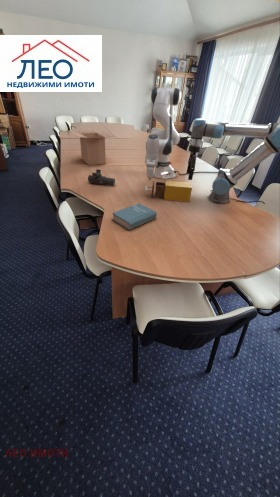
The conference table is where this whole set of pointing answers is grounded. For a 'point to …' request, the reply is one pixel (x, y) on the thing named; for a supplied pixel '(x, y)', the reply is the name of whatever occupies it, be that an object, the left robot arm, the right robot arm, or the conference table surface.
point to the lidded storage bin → (177, 191)
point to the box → (92, 146)
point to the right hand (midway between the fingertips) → (189, 176)
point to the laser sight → (100, 179)
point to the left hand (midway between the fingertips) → (149, 179)
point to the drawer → (157, 189)
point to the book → (134, 216)
